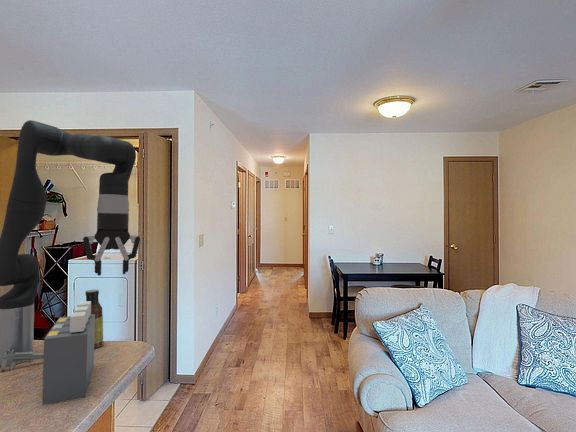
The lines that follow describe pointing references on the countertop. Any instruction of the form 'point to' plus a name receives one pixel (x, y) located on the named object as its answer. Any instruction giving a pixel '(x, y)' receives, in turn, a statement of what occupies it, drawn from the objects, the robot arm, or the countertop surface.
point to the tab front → (77, 322)
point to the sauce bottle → (96, 316)
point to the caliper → (19, 358)
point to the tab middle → (83, 309)
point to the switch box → (67, 361)
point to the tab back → (86, 303)
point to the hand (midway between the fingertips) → (111, 274)
